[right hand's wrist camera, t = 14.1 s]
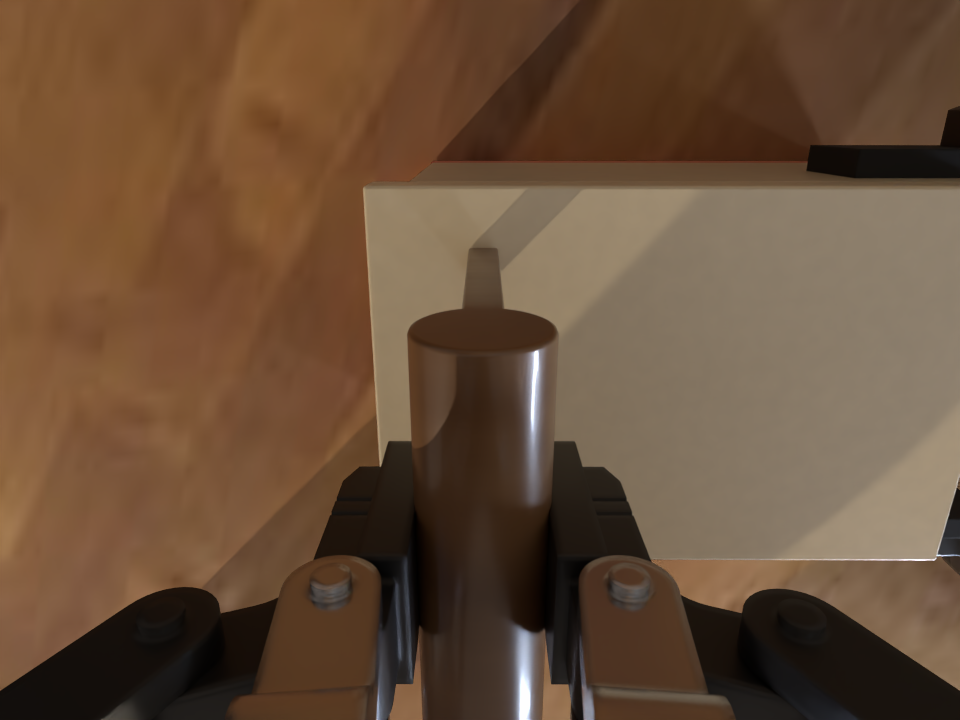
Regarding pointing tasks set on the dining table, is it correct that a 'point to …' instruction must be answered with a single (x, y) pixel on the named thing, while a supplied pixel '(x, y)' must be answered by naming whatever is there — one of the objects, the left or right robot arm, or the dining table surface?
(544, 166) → the chest
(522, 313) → the lid
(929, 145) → the left robot arm
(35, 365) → the dining table surface
